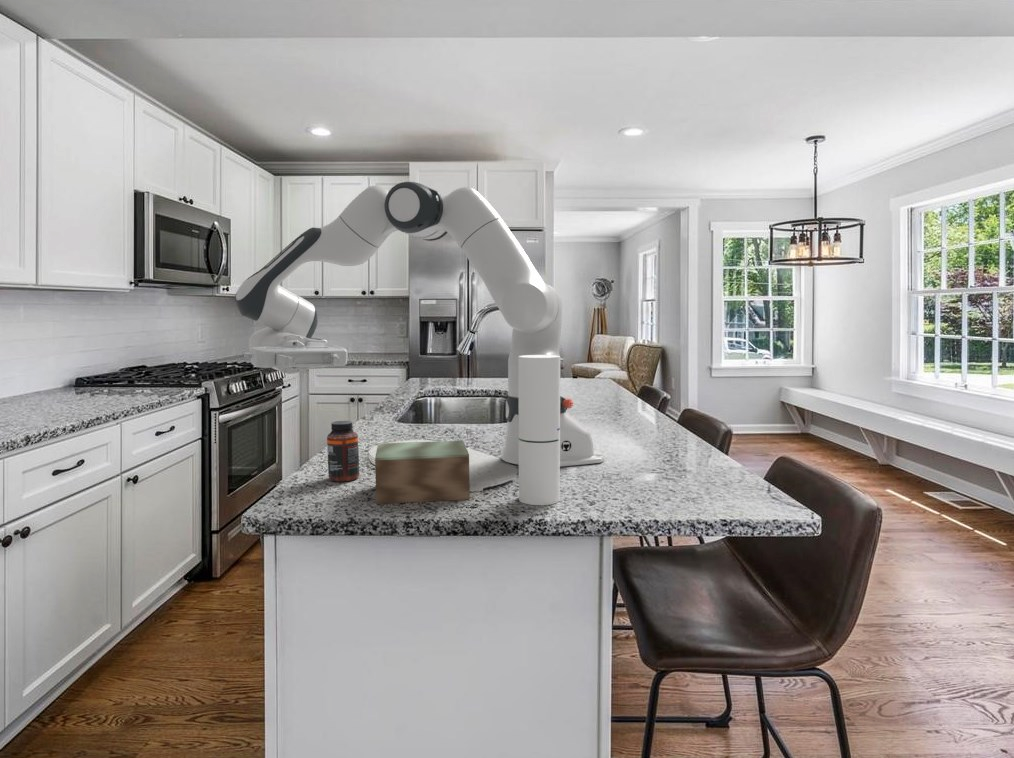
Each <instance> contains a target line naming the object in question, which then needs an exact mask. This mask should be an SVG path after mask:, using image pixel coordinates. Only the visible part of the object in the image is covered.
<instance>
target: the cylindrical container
mask: <svg viewBox="0 0 1014 758" xmlns="http://www.w3.org/2000/svg"><path fill="white" fill-rule="evenodd" d="M518 371H519V464H518V500H519V502H520V503H523V504H526V505H531V506H548V505H554V504H557V503H558V502H560V500H561V499H560V497H561V496H560V495H561V490H560V488H561V487H560V486H561V485H560V483H561V482H560V481H561V473H560V472H561V470H560V469H561V467H560V396H561V355H559V356H556V355H523V356H518Z"/></svg>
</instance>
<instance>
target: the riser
mask: <svg viewBox="0 0 1014 758" xmlns="http://www.w3.org/2000/svg"><path fill="white" fill-rule="evenodd" d="M374 456H375V457H374V462H375V463H374V464H375V465H374V467H375V469H374V470H375V471H374V472H375V500H376V501H375V502H376V505H379V504H398V503H399V504H400V503H401V504H402V503H403V504H405V503H420V502H421V503H422V502H423V503H424V502H439V501H440V502H441V501H443V502H444V501H460V500H461V501H462V500H470V489H471V488H470V487H471V486H470V453H469V451H468V449H467V447H466V444H465V442H464V440H444V441H443V440H441V441H440V440H439V441H437V440H436V441H416V442H415V441H412V442H411V441H410V442H387V443H386V442H384V443H382V442H381V443H377V447H376V451H375V455H374Z"/></svg>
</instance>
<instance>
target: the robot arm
mask: <svg viewBox="0 0 1014 758" xmlns="http://www.w3.org/2000/svg"><path fill="white" fill-rule="evenodd" d="M396 231H399V232H402V233H405V234H407V235H408V236H411V237H412V238H416V239H419V240H424V241H428V242H429V241H430V242H431V241H436V240H440V239H442V238H443V237H445V236H446V235H447V234H449V235H450V236H451V237H452V238H453V240H454V241H455V242H456V244H457V245H458V246H459V249H461V252H462V253H463V254H464V256H465V257H466V258H467V259H468V261H469V262H470V264H471V265H472V266H473V268H474V270H475V271H476V272H477V274H478V276H480V278H481V280H482V281H483V283H484V285H485V286H486V289H487V290H488V292H489V294H490V296H491V298H492V300H493V301H494V303H495V304H496V306H497V308H498V310H499V312H500V313H501V315H502V316H503V318H504V320H505V322H506V323H507V324H508V325H509V326H510V327H511V329H512V331H511V333H512V334H511V343H510V350H509V354H508V355H509V356H508V359H507V360H508V361H507V372H508V373H507V382H508V383H507V384H508V385H507V387H508V388H507V389H508V392H507V395H506V401H505V418H506V421H507V425H506V435H505V440H504V446H503V451H502V454H501V457H500V459H501V460H503V462H506V463H510V464H514V465H519V371H518V356H523V355H556V356H560V349H561V338H562V337H561V335H562V322H563V321H562V320H563V302H562V298H561V295H560V294H559V292H558V291H557V290H556V289H555V288H554V287H553V286H552V285H550V284H547V283H545V281H544V280H543V279H542V277H541V275H540V274H539V272H538V271H537V269H536V268H535V266H534V265H533V263H532V262H531V260H530V258H529V256H528V255H527V253H526V252H525V250H524V248H523V246H522V245H521V244H520V242H519V241H518V239H517V238H516V236H515V235H514V234H513V232H512V231H511V230H510V228H509V227H508V225H507V224H506V223H505V221H504V219H503V218H502V217H501V215H500V214H499V213H498V211H497V210H496V209H495V207H493V206H492V205H491V203H490V202H489V201H488V200H487V199H486V198H485V197H484V196H483V195H482V194H481V193H480V192H479V191H477V190H476V189H475V188H473V187H470V186H462V187H459V188H456V189H454V190H452V191H451V192H450V193H449V194H447V195H441V193H440V192H439V191H438V190H436V189H433V188H430V187H428V186H426V185H424V184H422V183H419V182H415V181H404V182H403V181H402V182H399V183H397V184H395V185H394V186H392V187H391V188H390V190H389V189H387V188H385V187H383V186H380V185H370V186H369V187H366V188H365V189H364V190H363V191H361V192H360V193H359V194H358V195H357V196H356V197H355V198H354V199H352V201H350V203H349V204H348V205H347V206H346V207H345V208H344V209H343V210H342V212H341V213H340V214H339V215H338V216H337V218H336V219H334V220H333V221H332V222H330V223H328V224H326V225H324V226H321V227H311V228H308V229H307V230H305V231H304V232H302V233H301V234H300V235H299V236H297V237H296V238H295V239H294V240H292V242H290V243H289V244H288V245H287V246H285V247H284V248H283V249H282V250H281V251H280V252H278V254H277V255H275V257H273V258H272V259H271V260H270V261H269V262H268V263H267V264H266V265H265V264H264V266H263V267H261V268H260V270H258V271H256V272H255V273H253V274H252V275H250V276H249V277H248V278H246V279H245V280H244V281H243V282H242V283H241V285H240V286H239V287H238V289H237V290H236V293H235V296H234V298H235V300H234V301H235V305H236V307H237V309H238V311H239V313H240V315H241V316H243V317H245V318H248V319H250V320H253V321H255V322H259V323H260V324H262V325H264V326H266V327H264V328H262V329H261V328H260V329H258V330H256V331H254V332H253V333H252V334H251V336H250V337H249V340H248V344H247V345H248V350H249V351H248V352H244V354H243V356H244V358H247V359H250V364H251V365H253V366H254V367H256V368H261V369H264V368H268V369H270V368H271V369H273V370H276V371H278V372H280V373H283V374H288V375H289V374H290V375H293V374H297V373H299V372H303V371H307V370H311V369H322V368H326V367H339V366H340V367H344V366H346V365H347V363H348V357H349V356H348V350H347V349H346V348H345V347H342V346H339V345H337V344H335V343H334V344H333V343H329V342H328V340H326V339H324V338H323V339H322V338H316V337H315V338H314V337H313V335H314V333H315V332H316V329H317V326H318V313H317V308H316V305H315V304H314V303H311V302H310V301H309V300H307V299H305V298H304V297H301V296H300V295H298V294H296V293H294V292H292V291H290V290H288V289H287V288H285V287H283V286H282V285H280V284H281V283H282V282H283V281H285V279H287V278H288V277H289V276H290V275H291V274H293V272H294V271H295V270H297V269H298V268H299V267H301V266H302V265H304V264H305V263H308V262H323V263H329V264H333V265H338V266H342V267H355V266H360V265H362V264H364V263H366V262H367V261H368V260H370V259H371V258H372V256H374V254H376V252H377V251H378V250H379V248H380V247H381V246H382V245H383V243H385V241H386V240H387V238H388V237H389V236H390V235H391V234H393V233H394V232H396ZM312 337H313V338H312ZM573 407H574V401H573V400H572V399H570V398H569V397H567V398H566V397H564V396H561V395H560V468H561V467H569V466H579V465H589V464H590V465H591V464H601V463H603V462H604V454H603V453H602V452H601V451H600V450H598V449H597V448H594V447H595V446H594V443H593V442H594V441H593V437H592V434H591V432H590V430H589V428H587V427H586V426H585V425H584V424H583V423H581V422H580V421H579V420H578V419H576V418H575V417H574V416H572V415H571V414H570V413H569V412H567V410H568V409H572V408H573Z"/></svg>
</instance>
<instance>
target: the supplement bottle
mask: <svg viewBox="0 0 1014 758" xmlns="http://www.w3.org/2000/svg"><path fill="white" fill-rule="evenodd" d="M330 424H331V431H330V433H328V434H327V436H326V447H327V470H328V471H327V472H328V479H329V480H330V481H333V482H337V483H341V482H351V481H354V480H356V479H358V478H359V477H360V455H359V453H360V452H359V451H360V450H359V435H358V434H357V432H356V431H354V430H353V428H354V426H353V421H352V420H336V421H333V422H331V423H330Z"/></svg>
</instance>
